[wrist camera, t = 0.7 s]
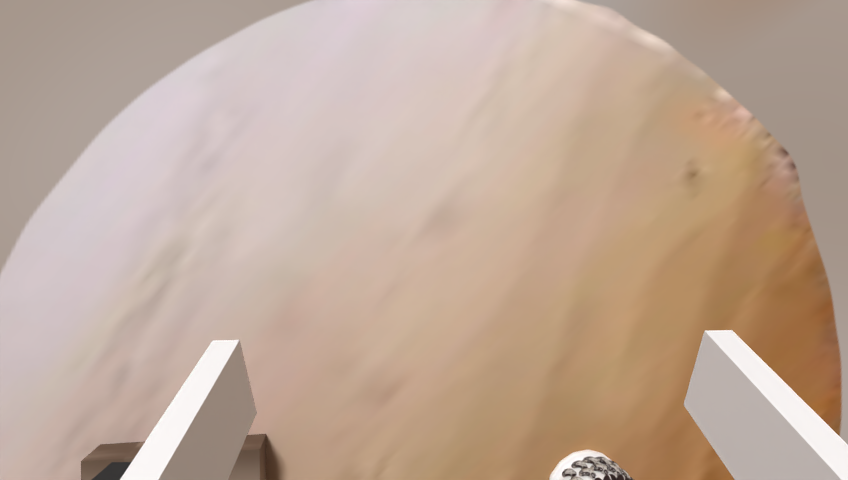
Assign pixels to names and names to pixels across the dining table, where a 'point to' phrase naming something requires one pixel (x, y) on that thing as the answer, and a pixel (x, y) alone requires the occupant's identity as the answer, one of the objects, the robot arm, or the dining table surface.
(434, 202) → the dining table surface
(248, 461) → the cup holder
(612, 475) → the decorative candle
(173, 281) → the dining table surface
